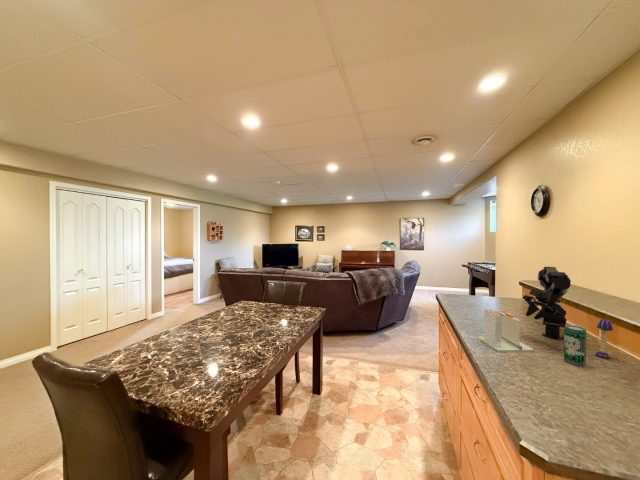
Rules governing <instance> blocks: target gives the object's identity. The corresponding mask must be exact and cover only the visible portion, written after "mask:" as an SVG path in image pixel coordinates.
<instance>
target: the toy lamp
mask: <svg viewBox="0 0 640 480" xmlns="http://www.w3.org/2000/svg"><path fill="white" fill-rule="evenodd" d="M596 328H597V329H600V330H601V332H600V333H601V335H600V343H599V344H600V346H599V348H600V349H599V351H597V352H595V356H597V357H599V358H602V359H606V360H609V359H611V358H610V355H609V354H608V353H607V351H606V350H607V342H608V341H607V340H608V332H612V331H613V330H614V328H613V325H612V321H611V320H609V319H606V318H600V319H599V321H598V323H597V325H596Z"/></svg>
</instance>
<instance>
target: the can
mask: <svg viewBox="0 0 640 480" xmlns="http://www.w3.org/2000/svg"><path fill="white" fill-rule="evenodd" d="M563 335H564V336H563V337H564V338H563V341H564V342H563V346H564V347H563V361H564V362H565V363H567V364H570V365H573V366H576V367H580V368H581V367H586V362H587V361H586V360H587V359H586V357H587V356H586V354H587V328H584V327H581V326H577V325H571V324H566V325H565V328H564V334H563Z"/></svg>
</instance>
